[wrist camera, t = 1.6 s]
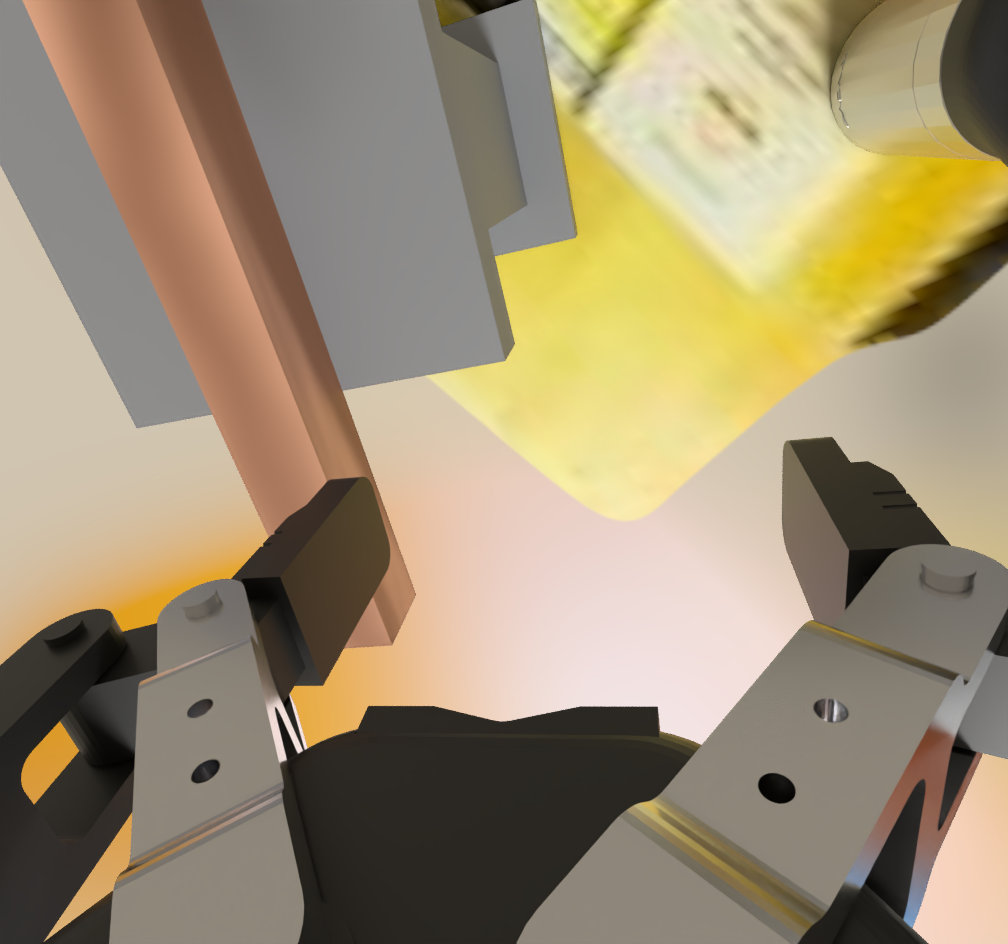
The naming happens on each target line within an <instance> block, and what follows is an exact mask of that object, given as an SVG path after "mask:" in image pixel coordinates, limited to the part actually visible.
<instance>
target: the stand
mask: <svg viewBox="0 0 1008 944" xmlns="http://www.w3.org/2000/svg"><path fill="white" fill-rule="evenodd" d="M202 3H203V6H204V9H205V11H206V14H207V17H208V20H209V23H210V25H211V28H212V31H213V34H214V36H215V39H216V42H217V45H218V47H219V50H220V53H221V56H222V59H223V61H224V64H225V67H226V70H227V72H228V75H229V78H230V81H231V83H232V86H233V89H234V92H235V95H236V97H237V100H238V103H239V106H240V108H241V111H242V114H243V117H244V119H245V122H246V125H247V128H248V131H249V133H250V136H251V139H252V142H253V144H254V147H255V150H256V153H257V156H258V158H259V161H260V164H261V167H262V169H263V172H264V175H265V178H266V180H267V183H268V186H269V189H270V192H271V194H272V197H273V200H274V203H275V205H276V208H277V211H278V214H279V216H280V219H281V222H282V225H283V228H284V230H285V233H286V236H287V239H288V241H289V244H290V247H291V250H292V252H293V255H294V258H295V261H296V264H297V266H298V269H299V272H300V275H301V277H302V280H303V283H304V286H305V288H306V291H307V294H308V297H309V300H310V302H311V305H312V308H313V311H314V313H315V316H316V319H317V322H318V324H319V327H320V330H321V333H322V336H323V338H324V341H325V344H326V347H327V349H328V352H329V355H330V358H331V361H332V363H333V366H334V369H335V372H336V374H337V377H338V380H339V383H340V385H341V388H342V391H343V390H349V389H354V388H359V387H365V386H370V385H376V384H381V383H387V382H392V381H397V380H403V379H408V378H414V377H420V376H425V375H431V374H436V373H442V372H447V371H453V370H458V369H463V368H469V367H474V366H480V365H485V364H491V363H496V362H502V361H505V360H506V358H507V357H508V355H509V353H510V351H511V350H512V348H513V346H514V344H515V342H514V338H513V334H512V329H511V325H510V321H509V317H508V312H507V308H506V304H505V299H504V295H503V291H502V287H501V282H500V278H499V274H498V269H497V265H496V261H495V257H494V256H498V255H503V254H507V253H511V252H516V251H520V250H524V249H529V248H533V247H538V246H542V245H546V244H551V243H555V242H559V241H564V240H568V239H573V238H576V236H577V229H576V223H575V217H574V212H573V206H572V200H571V195H570V189H569V183H568V178H567V172H566V167H565V161H564V155H563V150H562V144H561V138H560V133H559V127H558V121H557V116H556V110H555V105H554V99H553V93H552V88H551V82H550V76H549V71H548V65H547V60H546V54H545V48H544V43H543V37H542V31H541V26H540V20H539V14H538V9H537V3H536V1H535V0H521V1H518V2H515V3H512V4H509V5H506V6H503V7H500V8H497V9H494V10H491V11H488V12H485V13H482V14H479V15H476V16H473V17H470V18H467V19H464V20H461V21H458V22H455V23H452V24H449V25H446V26H443V27H441V25H440V20H439V16H438V12H437V8H436V3H435V0H202ZM0 165H1V167H2V169H3V171H4V173H5V175H6V177H7V179H8V181H9V183H10V185H11V186H12V188H13V190H14V192H15V194H16V196H17V198H18V200H19V202H20V204H21V206H22V208H23V210H24V212H25V213H26V215H27V217H28V219H29V221H30V223H31V225H32V227H33V229H34V231H35V233H36V235H37V237H38V239H39V240H40V242H41V244H42V246H43V248H44V250H45V252H46V254H47V256H48V258H49V260H50V262H51V264H52V266H53V267H54V269H55V271H56V273H57V275H58V277H59V279H60V281H61V283H62V285H63V287H64V289H65V291H66V293H67V295H68V296H69V298H70V300H71V302H72V304H73V306H74V308H75V310H76V312H77V314H78V315H79V318H80V320H81V322H82V323H83V325H84V327H85V329H86V331H87V333H88V335H89V337H90V339H91V341H92V343H93V345H94V346H95V348H96V350H97V352H98V354H99V356H100V358H101V360H102V362H103V364H104V366H105V368H106V370H107V372H108V374H109V376H110V378H111V379H112V381H113V383H114V385H115V387H116V389H117V391H118V393H119V395H120V397H121V399H122V401H123V402H124V405H125V406H126V408H127V410H128V412H129V414H130V416H131V418H132V420H133V422H134V424H135V426H136V428H141V427H146V426H152V425H157V424H163V423H168V422H174V421H179V420H184V419H190V418H195V417H201V416H206V415H212V412H211V410H210V408H209V406H208V403H207V401H206V399H205V397H204V395H203V393H202V390H201V388H200V386H199V384H198V382H197V380H196V377H195V375H194V373H193V371H192V369H191V366H190V364H189V362H188V360H187V358H186V356H185V353H184V351H183V349H182V347H181V345H180V342H179V340H178V338H177V336H176V334H175V332H174V329H173V327H172V325H171V323H170V321H169V319H168V316H167V314H166V312H165V310H164V308H163V305H162V303H161V301H160V299H159V297H158V295H157V292H156V290H155V288H154V286H153V284H152V282H151V279H150V277H149V275H148V273H147V271H146V268H145V266H144V264H143V262H142V260H141V258H140V255H139V253H138V251H137V249H136V247H135V244H134V242H133V240H132V238H131V236H130V234H129V231H128V229H127V227H126V225H125V223H124V221H123V218H122V216H121V214H120V212H119V210H118V207H117V205H116V203H115V201H114V199H113V197H112V194H111V192H110V190H109V188H108V186H107V184H106V181H105V179H104V177H103V175H102V173H101V170H100V168H99V166H98V164H97V162H96V160H95V157H94V155H93V153H92V151H91V149H90V147H89V144H88V142H87V140H86V138H85V136H84V133H83V131H82V129H81V127H80V125H79V123H78V120H77V118H76V116H75V114H74V112H73V109H72V107H71V105H70V103H69V101H68V99H67V96H66V94H65V92H64V90H63V88H62V86H61V83H60V81H59V79H58V77H57V75H56V72H55V70H54V68H53V66H52V64H51V62H50V59H49V57H48V55H47V53H46V51H45V49H44V46H43V44H42V42H41V40H40V38H39V35H38V33H37V31H36V29H35V27H34V25H33V22H32V20H31V18H30V16H29V14H28V11H27V9H26V7H25V5H24V3H23V1H22V0H0Z"/></svg>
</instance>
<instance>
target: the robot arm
mask: <svg viewBox="0 0 1008 944" xmlns="http://www.w3.org/2000/svg"><path fill="white" fill-rule="evenodd" d="M831 103H832V111H833V113H834V116H835V119H836V122H837V124H838V126H839V127H840V129H841V130H842V132H843V133H844V135H845V136H846V137H847V138H848V139H849V140H851V141H852V142H853V143H854V144H855V145H856V146H859V147H861V148H863V149H865V150H867V151H869V152H875V153H880V154H888V155H903V156H918V157H936V158H954V159H972V160H990V161H995V160H997V161H1002V162H1003V163H1004V164H1005V165H1006V166H1007V167H1008V0H886V1H884V2H883V3H882V4H880V5H879V6H878V7H876V8H875V9H874V10H872V11H871V12H870V13H869V14H868V15H867V16H866V17H865V18H864V19H863V20H862V21H861V22H860V23H859V24H858V25H857V26H856V28H855V29H854V30H853V32H852V33H851V35H850V36H849V38H848V39H847V41H846V42H845V44H844V46H843V48H842V50H841V52H840V54H839V57H838V59H837V61H836V65H835V68H834V72H833V76H832V83H831ZM782 484H783V485H782V488H783V489H782V526H783V536H784V542H785V545H786V550H787V553H788V555H789V558H790V560H791V563H792V565H793V568H794V570H795V573H796V575H797V578H798V580H799V583H800V585H801V588H802V590H803V593H804V595H805V598H806V600H807V603H808V606H809V608H810V610H811V613H812V615H813V618H814V620H811V621H808V622H807V623H805V624H804V625H803V626H802V627H801V628H800V629H799V630H798V631H797V633H796V634H795V635H794V636H793V637H792V639H791V640H790V641H789V642H788V643H787V645H786V646H785V647H784V648H783V649H782V651H781V652H780V653H779V654H778V655H777V656H776V658H775V659H774V660H773V661H772V662H771V664H770V665H769V666H768V667H767V668H766V669H765V671H764V672H763V673H762V674H761V675H760V677H759V678H758V679H757V680H756V681H755V683H754V684H753V685H752V686H751V687H750V688H749V690H748V691H747V692H746V693H745V694H744V696H743V697H742V698H741V699H740V701H739V702H738V703H737V704H736V705H735V706H734V707H733V709H732V710H731V711H730V712H729V713H728V715H727V716H726V717H725V718H724V719H723V721H722V722H721V723H720V724H719V725H718V727H717V728H716V729H715V730H714V731H713V733H712V734H711V735H710V736H709V737H708V738H707V740H706V741H705V742H704V743H703V744H702V745H700V744H698V743H696V742H694V741H691V740H688V739H685V738H682V737H679V736H676V735H672V734H668V733H664V732H661V731H660V726H659V715H658V707H576V708H571V709H566V710H561V711H557V712H551V713H546V714H542V715H537V716H532V717H527V718H522V719H517V720H512V721H505V722H499V721H493V720H489V719H485V718H481V717H477V716H473V715H468V714H464V713H459V712H456V711H452V710H448V709H443V708H439V707H435V706H368V708H367V710H366V712H365V714H364V717H363V719H362V721H361V723H360V725H359V728H358V729H357V730H353V731H349V732H346V733H343V734H339V735H336V736H333V737H331V738H329V739H326V740H324V741H321V742H319V743H317V744H315V745H313V746H311V747H309V748H307V745H306V741H305V738H304V734H303V731H302V727H301V724H300V720H299V717H298V714H297V710H296V707H295V705H294V702H293V700H292V698H291V695H290V692H291V691H292V689H293V687H294V686H323V685H324V683H325V681H326V679H327V677H328V676H329V674H330V672H331V670H332V669H333V667H334V665H335V663H336V661H337V660H338V658H339V656H340V654H341V652H342V650H343V649H344V647H345V645H346V644H347V642H348V640H349V638H350V636H351V635H352V633H353V631H354V629H355V628H356V626H357V624H358V622H359V620H360V619H361V617H362V615H363V613H364V611H365V610H366V608H367V606H368V604H369V603H370V601H371V599H372V597H373V595H374V594H375V592H376V590H377V588H378V586H379V585H380V583H381V581H382V579H383V578H384V576H385V574H386V572H387V570H388V567H389V563H390V544H389V539H388V536H387V533H386V529H385V526H384V522H383V519H382V516H381V512H380V509H379V506H378V502H377V499H376V495H375V492H374V489H373V486H372V484H371V482H370V481H369V479H368V478H366V477H353V478H341V479H330V480H328V481H327V482H326V483H325V484H324V486H323V487H322V488H321V489H320V490H319V491H318V492H317V493H316V495H315V496H314V497H313V498H312V499H311V500H310V501H309V502H308V504H307V505H305V506H304V507H302V508H301V509H299V510H298V511H296V512H295V513H293V514H292V515H290V516H289V517H287V518H286V519H285V520H284V521H283V523H282V524H281V525H280V526H279V527H278V528H277V529H276V530H275V531H274V535H271V536H270V537H269V538H268V539H267V540H266V541H265V542H264V543H263V547H260V548H259V549H258V550H257V551H256V552H255V553H254V554H253V555H252V557H251V558H250V559H249V560H248V561H247V562H246V563H245V564H244V566H242V568H241V569H240V570H239V571H238V572H237V573H236V574H235V575H234V576H233V578H232V579H220V580H215V581H211V582H207V583H204V584H201V585H199V586H196V587H194V588H191V589H190V590H188V591H186V592H184V593H182V594H181V595H179V596H178V597H176V598H175V599H173V600H172V601H171V602H170V603H169V604H167V605H166V607H165V608H164V609H163V610H162V611H161V613H160V615H159V617H158V621H157V623H156V624H152V625H149V626H144V627H140V628H136V629H132V630H128V631H124V632H122V631H121V629H120V627H119V625H118V624H117V622H116V620H115V618H114V616H113V614H112V613H111V612H110V611H108V610H105V609H93V610H87V611H83V612H80V613H76V614H73V615H71V616H68V617H66V618H63V619H61V620H59V621H57V622H55V623H54V624H51V625H50V626H48V627H46V628H45V629H43V630H42V631H40V632H39V633H37V634H36V635H35V636H34V637H32V638H31V639H30V640H29V641H28V642H27V643H25V644H24V645H23V646H22V647H21V648H20V649H19V650H17V651H16V652H15V653H14V654H13V655H12V656H11V657H9V658H8V659H7V660H6V661H5V662H4V663H3V664H1V665H0V944H928V943H927V942H926V941H925V940H924V939H923V938H922V937H921V936H920V935H919V934H917V932H915V931H914V930H913V929H912V928H913V925H914V923H915V920H916V917H917V915H918V912H919V909H920V906H921V904H922V901H923V897H924V894H925V891H926V888H927V884H928V881H929V877H930V874H931V871H932V868H933V865H934V862H935V860H936V857H937V855H938V852H939V850H940V848H941V845H942V843H943V841H944V839H945V837H946V834H947V832H948V830H949V827H950V826H951V823H952V821H953V819H954V817H955V815H956V812H957V810H958V808H959V806H960V804H961V801H962V799H963V797H964V795H965V792H966V790H967V788H968V786H969V784H970V781H971V779H972V777H973V775H974V773H975V770H976V768H977V766H978V764H979V762H980V759H981V757H982V754H983V753H985V754H989V755H993V756H997V757H1001V758H1005V759H1008V569H1007V568H1005V567H1004V566H1003V565H1002V564H1000V563H999V562H997V561H995V560H993V559H992V558H990V557H987V556H986V555H983V554H980V553H978V552H975V551H972V550H968V549H965V548H960V547H955V546H951V545H950V544H949V542H948V541H947V540H946V539H945V538H944V536H943V535H942V534H941V533H940V531H939V530H938V529H937V528H936V526H935V525H934V524H933V523H932V522H931V521H930V519H929V518H928V517H927V516H926V514H925V513H924V512H923V511H922V509H921V508H920V507H917V503H916V502H915V501H914V500H913V498H912V497H911V496H910V495H909V494H906V490H905V489H904V487H903V486H902V485H901V484H900V483H899V481H898V480H897V479H896V477H895V476H894V475H893V474H892V473H890V472H888V471H886V470H884V469H882V468H880V467H878V466H876V465H874V464H872V463H870V462H868V461H867V462H866V461H865V462H854V463H851V462H850V461H849V460H848V458H847V457H846V455H845V454H844V453H843V451H842V450H841V448H840V447H839V446H838V444H837V443H836V441H835V440H834V439H833V438H832V437H824V438H813V439H801V440H790V441H786V442H785V444H784V449H783V482H782ZM59 721H60V722H61V723H62V725H63V726H64V728H65V729H66V731H67V732H68V734H69V736H70V737H71V739H72V740H73V742H74V743H75V745H76V746H77V748H78V749H79V752H78V753H77V755H76V756H75V757H74V758H73V759H72V760H71V762H70V763H69V764H68V765H67V766H66V768H65V769H64V770H63V771H62V772H61V774H60V775H59V776H58V777H57V778H56V779H55V781H54V782H53V783H52V784H51V785H50V787H49V788H48V789H47V790H46V791H45V793H44V794H43V795H42V796H41V797H40V799H39V800H38V801H37V802H36V803H35V804H33V803H32V801H31V800H30V799H29V797H28V796H27V795H26V793H25V792H24V790H23V788H22V785H21V773H22V768H23V765H24V763H25V761H26V759H27V757H28V756H29V754H30V753H31V752H32V750H33V749H34V748H35V747H36V746H37V745H38V744H39V743H40V742H41V741H42V740H43V739H44V737H45V736H46V735H47V734H48V733H49V732H50V731H51V730H52V729H53V728H54V727H55V726H56V724H57V723H58V722H59ZM132 811H133V812H132ZM131 813H132V834H131V835H132V836H131V855H130V862H129V865H128V868H127V869H126V870H125V871H123V872H122V873H120V875H119V876H118V877H117V880H116V882H115V886H114V890H113V891H112V892H110V893H109V894H108V895H106V896H105V897H104V898H102V899H101V900H100V901H98V902H97V903H96V904H94V905H93V906H92V907H90V908H89V909H88V910H86V911H85V912H84V913H82V914H81V915H80V916H78V917H77V918H75V919H74V920H73V921H71V922H70V923H69V924H68V925H66V926H65V927H63V928H62V929H61V930H59V931H58V932H57V933H55V934H54V935H53V936H52V937H50V938H49V939H47V940H46V941H45V942H44V940H45V939H46V937H47V936H48V934H49V933H50V932H51V930H52V929H53V927H54V926H55V924H56V923H57V921H58V920H59V918H60V917H61V915H62V914H63V912H64V911H65V910H66V908H67V907H68V905H69V904H70V902H71V901H72V899H73V898H74V896H75V895H76V893H77V892H78V890H79V889H80V887H81V886H82V884H83V883H84V882H85V880H86V879H87V877H88V876H89V874H90V873H91V871H92V870H93V869H94V867H95V866H96V864H97V863H98V861H99V859H100V858H101V857H102V855H103V854H104V852H105V851H106V849H107V848H108V846H109V845H110V844H111V842H112V841H113V839H114V838H115V836H116V835H117V833H118V832H119V831H120V829H121V828H122V826H123V825H124V823H125V822H126V820H127V819H128V817H129V816H130V814H131Z"/></svg>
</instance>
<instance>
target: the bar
mask: <svg viewBox="0 0 1008 944" xmlns="http://www.w3.org/2000/svg"><path fill="white" fill-rule="evenodd" d="M22 1H23V3H24V5H25V7H26V9H27V11H28V14H29V16H30V18H31V20H32V22H33V25H34V27H35V29H36V31H37V33H38V35H39V38H40V40H41V42H42V44H43V46H44V49H45V51H46V53H47V55H48V57H49V59H50V62H51V64H52V66H53V68H54V70H55V72H56V75H57V77H58V79H59V81H60V83H61V86H62V88H63V90H64V92H65V94H66V96H67V99H68V101H69V103H70V105H71V107H72V109H73V112H74V114H75V116H76V118H77V120H78V123H79V125H80V127H81V129H82V131H83V133H84V136H85V138H86V140H87V142H88V144H89V147H90V149H91V151H92V153H93V155H94V157H95V160H96V162H97V164H98V166H99V168H100V170H101V173H102V175H103V177H104V179H105V181H106V184H107V186H108V188H109V190H110V192H111V194H112V197H113V199H114V201H115V203H116V205H117V207H118V210H119V212H120V214H121V216H122V218H123V221H124V223H125V225H126V227H127V229H128V231H129V234H130V236H131V238H132V240H133V242H134V244H135V247H136V249H137V251H138V253H139V255H140V258H141V260H142V262H143V264H144V266H145V268H146V271H147V273H148V275H149V277H150V279H151V282H152V284H153V286H154V288H155V290H156V292H157V295H158V297H159V299H160V301H161V303H162V305H163V308H164V310H165V312H166V314H167V316H168V319H169V321H170V323H171V325H172V327H173V329H174V332H175V334H176V336H177V338H178V340H179V342H180V345H181V347H182V349H183V351H184V353H185V356H186V358H187V360H188V362H189V364H190V366H191V369H192V371H193V373H194V375H195V377H196V380H197V382H198V384H199V386H200V388H201V390H202V393H203V395H204V397H205V399H206V401H207V403H208V406H209V408H210V410H211V412H212V414H213V417H214V419H215V421H216V423H217V425H218V427H219V429H220V431H221V434H222V436H223V438H224V440H225V442H226V445H227V447H228V449H229V451H230V454H231V456H232V458H233V460H234V462H235V464H236V467H237V469H238V471H239V473H240V475H241V477H242V480H243V482H244V484H245V486H246V488H247V490H248V493H249V494H250V497H251V499H252V501H253V504H254V505H255V508H256V510H257V512H258V515H259V517H260V519H261V521H262V523H263V525H264V528H265V530H266V532H267V534H268V536H269V537H270V536H271V535H274V531H275V530H276V529H277V528H278V527H279V526H280V525H281V524H282V523H283V521H284V520H285V519H286V518H287V517H289V516H290V515H292V514H293V513H295V512H296V511H298V510H299V509H301V508H302V507H304V506H305V505H307V504H308V502H309V501H310V500H311V499H312V498H313V497H314V496H315V495H316V493H317V492H318V491H319V490H320V489H321V488H322V487H323V486H324V484H325V483H326V482H327V481H328V480H330V479H341V478H353V477H366V478H368V479H369V481H370V482H371V484H372V486H373V489H374V492H375V495H376V499H377V502H378V506H379V509H380V512H381V516H382V519H383V522H384V526H385V529H386V533H387V536H388V539H389V544H390V563H389V567H388V570H387V572H386V574H385V576H384V578H383V579H382V581H381V583H380V585H379V586H378V588H377V590H376V592H375V594H374V595H373V597H372V599H371V601H370V603H369V604H368V606H367V608H366V610H365V611H364V613H363V615H362V617H361V619H360V620H359V622H358V624H357V626H356V628H355V629H354V631H353V633H352V635H351V636H350V638H349V640H348V642H347V644H346V645H345V647H344V648H357V647H373V646H387V645H388V646H389V645H392V644H393V642H394V640H395V638H396V636H397V634H398V632H399V629H400V627H401V625H402V623H403V621H404V619H405V617H406V615H407V613H408V610H409V608H410V606H411V604H412V602H413V600H414V598H415V596H416V593H415V590H414V588H413V585H412V582H411V579H410V577H409V574H408V571H407V568H406V565H405V563H404V560H403V557H402V554H401V552H400V549H399V546H398V543H397V541H396V538H395V535H394V532H393V530H392V527H391V524H390V521H389V518H388V516H387V513H386V510H385V507H384V505H383V502H382V499H381V496H380V493H379V491H378V488H377V485H376V482H375V480H374V477H373V474H372V472H371V469H370V466H369V463H368V460H367V458H366V455H365V452H364V449H363V446H362V444H361V441H360V438H359V435H358V433H357V430H356V427H355V424H354V421H353V419H352V416H351V413H350V410H349V408H348V405H347V402H346V399H345V397H344V394H343V391H342V388H341V385H340V383H339V380H338V377H337V374H336V372H335V369H334V366H333V363H332V361H331V358H330V355H329V352H328V349H327V347H326V344H325V341H324V338H323V336H322V333H321V330H320V327H319V324H318V322H317V319H316V316H315V313H314V311H313V308H312V305H311V302H310V300H309V297H308V294H307V291H306V288H305V286H304V283H303V280H302V277H301V275H300V272H299V269H298V266H297V264H296V261H295V258H294V255H293V252H292V250H291V247H290V244H289V241H288V239H287V236H286V233H285V230H284V228H283V225H282V222H281V219H280V216H279V214H278V211H277V208H276V205H275V203H274V200H273V197H272V194H271V192H270V189H269V186H268V183H267V180H266V178H265V175H264V172H263V169H262V167H261V164H260V161H259V158H258V156H257V153H256V150H255V147H254V144H253V142H252V139H251V136H250V133H249V131H248V128H247V125H246V122H245V119H244V117H243V114H242V111H241V108H240V106H239V103H238V100H237V97H236V95H235V92H234V89H233V86H232V83H231V81H230V78H229V75H228V72H227V70H226V67H225V64H224V61H223V59H222V56H221V53H220V50H219V47H218V45H217V42H216V39H215V36H214V34H213V31H212V28H211V25H210V23H209V20H208V17H207V14H206V11H205V9H204V6H203V3H202V0H22Z"/></svg>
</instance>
